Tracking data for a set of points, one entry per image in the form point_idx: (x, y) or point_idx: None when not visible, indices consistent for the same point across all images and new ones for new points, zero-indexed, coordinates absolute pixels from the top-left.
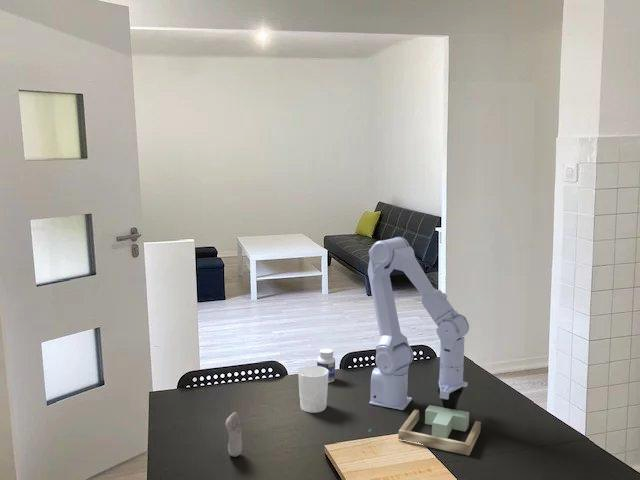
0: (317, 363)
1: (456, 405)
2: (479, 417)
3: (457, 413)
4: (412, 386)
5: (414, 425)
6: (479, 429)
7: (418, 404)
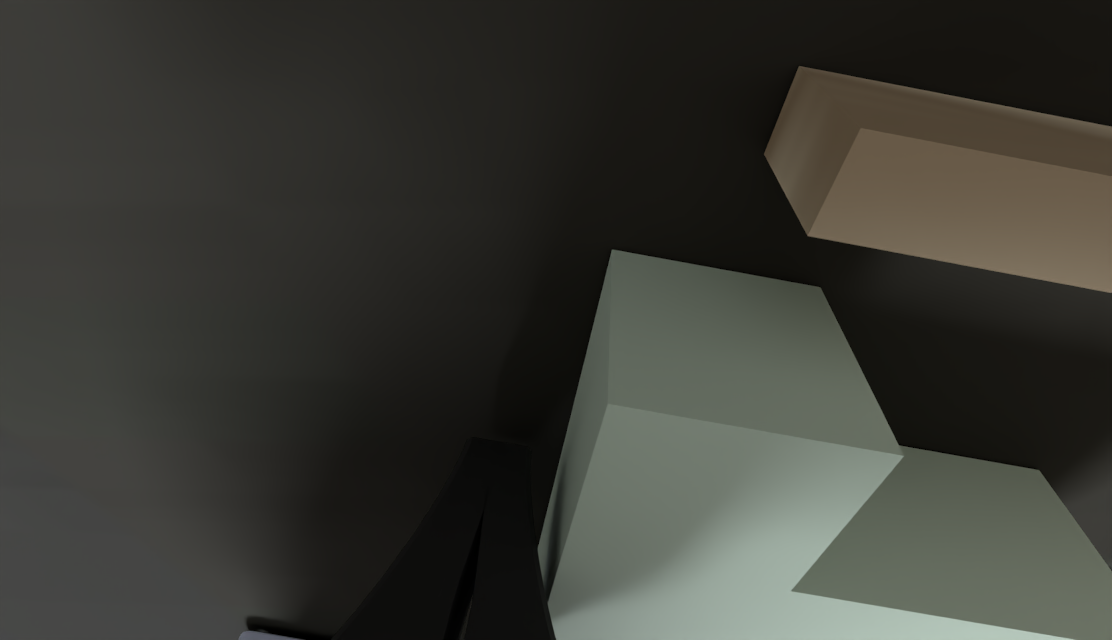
0: None
1: (458, 575)
2: (234, 85)
3: (707, 545)
4: (12, 611)
5: None
6: (943, 112)
7: (298, 598)
